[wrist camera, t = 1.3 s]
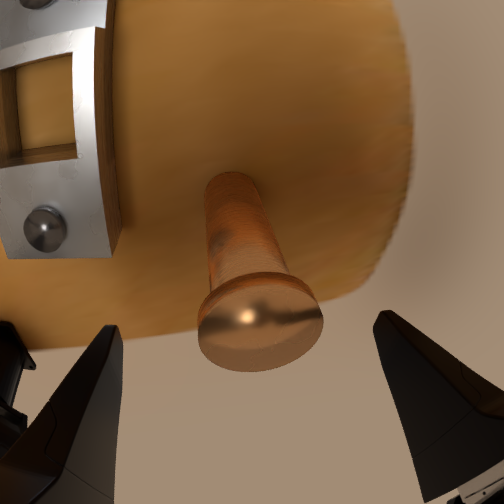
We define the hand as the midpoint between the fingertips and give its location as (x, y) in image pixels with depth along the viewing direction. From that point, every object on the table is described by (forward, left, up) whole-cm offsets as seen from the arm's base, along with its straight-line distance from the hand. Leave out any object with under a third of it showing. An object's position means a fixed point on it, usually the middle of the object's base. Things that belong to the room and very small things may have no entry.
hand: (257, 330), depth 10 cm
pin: (0, 0, -10) cm, 10 cm away
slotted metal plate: (+6, +10, -10) cm, 15 cm away
